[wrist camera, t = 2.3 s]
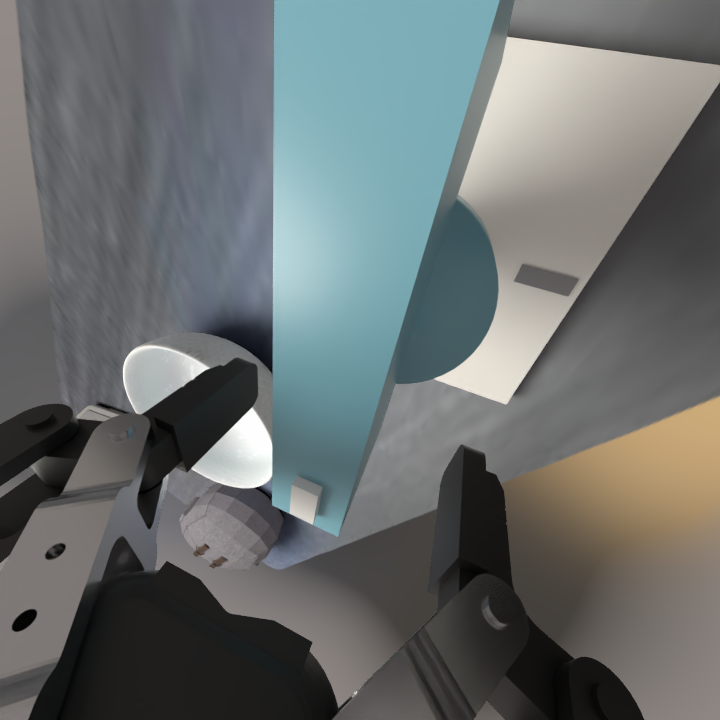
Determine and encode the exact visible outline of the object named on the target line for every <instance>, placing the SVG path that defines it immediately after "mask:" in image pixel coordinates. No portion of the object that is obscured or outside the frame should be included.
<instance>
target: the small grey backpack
mask: <svg viewBox="0 0 720 720" xmlns="http://www.w3.org/2000/svg"><path fill="white" fill-rule="evenodd" d="M179 520H180V523H181V528H182V533H183V537H184V538H185V540H186V541H187V542H188V544H189V545H190V546H191V547H192V548H193V549H194V550H195V552H194V553H193V554H194V555H195V556H196V557H198V556H199V555H201V556H202V557H203V558H204V559H205V560H207V561H209V562H211V564H210V565H209V566H210V567H212V568H215V567H216V566H217V567H221V568H227V569H232V570H246V569H248V568H251V567H254V566H257V565H258V564H259V562H260V561H262V560H263V559H265V558H266V557H267V555H268V554H269V552H270V550H271V549H272V547H273V545H274V543H275V542H276V541H277V540H278V537H279V534H280V531H281V527H282V525H283V522H284V519H283V517H282V515H281V513H280V511H279V509H278V508H277V507H275V506H273V505H272V501H271V500H270V499H269V498H268V497H267V496H266V495H265V494H264V493H262V492H260V491H259V490H257V489H255V488H237V487H232V486H228V485H224V484H221V483H219V484H216V485H213V486H212V487H211V488H210V489H209V490H208V491H207V492H206V493H204V494H203V495H202V496H201V497H195V498H194V499H193V500H192V501H191V502H190V503H189V505H188V506H187V507H186V509H185V510H184V511H183V514H182V516H181V518H180V519H179Z"/></svg>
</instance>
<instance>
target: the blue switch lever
mask: <svg viewBox="0 0 720 720" xmlns="http://www.w3.org/2000/svg"><path fill="white" fill-rule="evenodd" d="M513 5H514V0H274V202H273V412H272V505H273V506H275V507H277V508H279V509H281V510H283V511H285V512H287V513H289V514H291V515H293V516H295V517H298V518H300V519H302V520H304V521H306V522H308V523H310V524H312V525H314V526H316V527H318V528H321V529H323V530H325V531H327V532H329V533H331V534H333V535H335V536H337V537H338V536H339V533H340V531H341V528H342V526H343V523H344V520H345V518H346V515H347V513H348V510H349V508H350V505H351V503H352V500H353V498H354V495H355V492H356V490H357V487H358V485H359V482H360V480H361V477H362V475H363V472H364V469H365V467H366V464H367V462H368V459H369V457H370V454H371V452H372V449H373V446H374V444H375V441H376V439H377V436H378V434H379V431H380V429H381V426H382V423H383V420H384V417H385V414H386V411H387V407H388V404H389V401H390V398H391V395H392V392H393V389H394V386H395V383H396V384H409V383H417V382H423V381H427V380H431V379H434V378H437V377H439V376H442V375H444V374H446V373H448V372H450V371H451V370H453V369H455V368H456V367H458V366H459V365H460V364H462V363H463V362H464V361H465V360H467V359H468V358H469V357H470V356H471V355H472V354H473V353H474V352H475V350H476V349H477V348H478V347H479V345H480V344H481V343H482V341H483V339H484V338H485V336H486V334H487V333H488V331H489V328H490V326H491V324H492V321H493V319H494V315H495V311H496V307H497V301H498V292H499V286H498V272H497V267H496V262H495V257H494V252H493V248H492V243H491V240H490V237H489V234H488V231H487V229H486V227H485V225H484V223H483V221H482V219H481V218H480V217H479V215H478V214H477V212H476V211H475V210H474V208H473V207H472V206H471V205H470V204H469V203H468V202H467V201H465V200H464V199H463V198H462V197H460V196H459V195H458V193H459V190H460V187H461V184H462V181H463V178H464V175H465V172H466V169H467V166H468V163H469V160H470V157H471V154H472V151H473V148H474V145H475V142H476V139H477V136H478V133H479V129H480V126H481V123H482V120H483V117H484V114H485V111H486V108H487V105H488V102H489V99H490V96H491V93H492V90H493V87H494V84H495V81H496V78H497V75H498V72H499V69H500V66H501V63H502V59H503V54H504V49H505V44H506V39H507V34H508V29H509V24H510V19H511V14H512V9H513Z"/></svg>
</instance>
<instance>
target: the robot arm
mask: <svg viewBox="0 0 720 720" xmlns="http://www.w3.org/2000/svg"><path fill="white" fill-rule="evenodd" d="M257 397H258V368H257V365H256V364H254V363H251V362H249V361H246V360H244V359H241V358H238V357H237V358H234V359H233V360H231V361H230V362H228V363H227V364H226V365H224V366H222V365H218V366H216V367H213V368H210V369H207V370H205V371H204V372H202V373H201V374H199V375H198V376H196V377H195V378H194V380H191V381H189V382H188V383H186V384H185V385H184V387H180V388H179V389H178V390H176V391H175V392H173V393H172V394H170V395H169V396H167V397H166V398H164V399H163V400H162V401H160V402H159V403H157V404H156V405H154V406H153V407H151V408H150V409H149V410H147V411H146V412H144V413H142V414H135V413H128V414H122V415H118V416H115V417H112V418H110V419H108V420H106V421H96V420H86V419H77V418H76V416H75V414H74V412H73V410H72V409H71V408H70V407H69V406H67V405H63V404H48V405H42V406H38V407H35V408H32V409H29V410H27V411H24V412H22V413H20V414H19V415H17V416H15V417H13V418H11V419H9V420H7V421H6V422H4V423H2V424H0V486H1V485H3V484H4V483H6V482H7V481H9V480H10V479H12V478H13V477H15V476H16V475H18V474H19V473H20V472H22V471H23V470H25V469H26V468H28V467H29V466H31V468H32V469H33V470H34V471H35V474H34V475H32V476H31V477H30V478H28V479H27V480H25V481H24V482H23V483H21V484H20V485H18V486H17V487H15V488H14V489H13V490H11V491H10V492H8V493H7V494H5V495H4V496H3V497H1V498H0V563H1V562H2V561H3V560H4V559H5V558H7V557H8V556H9V555H10V556H9V557H8V559H7V561H6V563H5V565H4V566H3V568H2V570H1V572H0V720H474V718H475V717H476V715H477V714H478V712H479V711H480V709H481V708H482V706H483V705H484V704H485V702H486V701H488V702H489V703H490V704H491V705H492V706H493V707H494V709H495V710H496V711H497V712H498V713H499V714H500V715H501V716H502V717H503V718H504V719H505V720H644V718H643V716H642V713H641V711H640V709H639V707H638V706H637V703H636V702H635V700H634V699H633V697H632V695H631V694H630V692H629V691H628V689H627V688H626V687H625V685H624V684H623V683H622V682H621V680H620V679H619V678H618V677H617V676H616V675H615V674H614V673H613V672H612V671H611V670H610V669H609V668H607V667H606V666H605V665H603V664H602V663H600V662H599V661H597V660H595V659H592V658H589V657H580V658H577V659H574V658H573V657H572V656H570V655H569V654H568V653H567V652H566V651H565V650H563V649H562V648H561V647H560V646H559V645H557V644H556V643H555V642H554V641H553V640H552V639H551V638H549V637H548V636H547V635H546V634H545V633H544V632H543V631H541V630H540V629H539V628H538V627H537V626H536V625H535V624H534V623H533V622H532V620H530V618H529V617H528V615H527V614H526V611H525V608H524V606H523V604H522V602H521V600H520V599H519V597H518V596H517V594H516V593H515V591H514V588H513V584H512V577H511V566H510V555H509V543H508V532H507V525H506V521H507V520H506V511H505V498H504V491H503V489H502V486H501V484H500V482H499V480H498V478H497V476H496V475H495V474H493V473H490V472H488V471H486V459H485V454H484V453H483V452H480V451H478V450H475V449H473V448H470V447H467V446H465V445H460V447H459V448H458V450H457V451H456V453H455V455H454V456H453V458H452V460H451V461H450V463H449V465H448V466H447V468H446V470H445V472H444V474H443V477H442V481H441V485H440V492H439V500H438V509H437V518H436V526H435V534H434V542H433V550H432V559H431V567H430V576H429V584H428V591H429V592H431V593H433V594H435V595H437V596H439V597H438V609H437V612H436V613H435V614H434V615H433V616H432V617H431V618H430V619H429V620H428V621H427V622H426V623H425V624H424V625H423V626H422V627H421V628H420V629H419V630H418V631H417V632H416V633H415V634H414V635H413V636H412V637H411V638H410V639H409V640H408V641H407V642H406V643H405V644H404V645H403V646H402V647H401V648H400V649H399V650H397V652H396V653H394V654H393V655H392V656H391V657H390V658H389V659H388V660H387V661H386V662H385V663H384V664H383V665H382V666H381V667H380V668H379V669H378V670H377V671H376V672H375V673H374V674H373V675H372V676H371V677H370V678H368V679H367V681H365V682H364V684H363V685H361V686H360V687H359V688H358V689H357V690H356V691H355V692H354V693H353V694H352V695H351V696H350V697H349V698H348V699H347V700H346V701H345V702H344V703H343V704H342V705H341V706H340V707H339V708H338V705H337V701H336V698H335V695H334V692H333V689H332V686H331V684H330V682H329V680H328V678H327V676H326V674H325V672H324V670H323V669H322V667H321V665H320V664H319V662H318V661H317V660H316V658H315V657H314V656H313V655H312V654H311V652H310V651H309V650H310V647H311V645H312V642H311V641H309V640H308V639H306V638H304V637H302V636H301V635H299V634H297V633H295V632H293V631H292V630H290V629H288V628H286V627H284V626H283V625H281V624H279V623H277V622H275V621H273V620H267V619H260V618H254V617H247V616H241V615H234V614H230V613H228V612H227V611H225V609H224V608H223V607H222V606H221V605H220V604H219V602H218V601H217V600H216V598H214V596H213V595H212V594H211V592H210V591H209V590H208V589H207V588H206V586H205V585H204V584H203V583H202V581H201V580H200V579H198V578H196V577H195V576H193V575H191V574H189V573H187V572H186V571H184V570H182V569H180V568H178V567H177V566H175V565H173V564H171V563H169V562H168V561H166V563H165V564H164V565H163V566H162V568H161V569H160V570H155V566H156V558H157V544H156V534H157V529H158V524H159V520H160V515H161V510H162V506H163V501H164V497H165V492H166V487H167V483H168V474H169V473H170V472H171V471H172V470H173V469H174V468H175V467H176V468H178V469H180V470H182V471H184V472H186V473H187V472H188V471H189V470H190V469H191V468H192V467H193V466H194V465H195V464H196V463H197V462H198V461H199V460H200V459H201V458H202V457H203V456H204V455H205V454H206V453H207V452H208V451H209V450H210V449H211V448H212V447H213V446H214V445H215V444H216V443H217V442H218V441H219V440H220V439H221V438H222V437H223V436H224V435H225V434H226V433H227V432H228V431H229V430H230V429H231V428H232V427H233V426H234V425H235V424H236V423H237V422H238V421H239V420H240V419H241V418H242V417H243V416H244V415H245V414H246V413H247V412H248V411H249V410H250V409H251V408H252V407H253V405H254V404H255V402H256V400H257Z"/></svg>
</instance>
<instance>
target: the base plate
mask: <svg viewBox="0 0 720 720" xmlns="http://www.w3.org/2000/svg"><path fill="white" fill-rule="evenodd" d="M719 83H720V65H714V64H707V63H699V62H692V61H684V60H677V59H669V58H662V57H654V56H647V55H639V54H632V53H624V52H617V51H609V50H602V49H594V48H587V47H579V46H572V45H564V44H557V43H549V42H542V41H534V40H527V39H519V38H512V37H507V39H506V44H505V49H504V54H503V59H502V63H501V66H500V69H499V72H498V75H497V78H496V81H495V84H494V87H493V90H492V93H491V96H490V99H489V102H488V105H487V108H486V111H485V114H484V117H483V120H482V123H481V126H480V129H479V133H478V136H477V139H476V142H475V145H474V148H473V151H472V154H471V157H470V160H469V163H468V166H467V169H466V172H465V175H464V178H463V181H462V184H461V187H460V190H459V193H458V195H459V196H460V197H462V198H463V199H464V200H465V201H467V202H468V203H469V204H470V205H471V206H472V207H473V208H474V210H475V211H476V212H477V214H478V215H479V217H480V218H481V219H482V221H483V223H484V225H485V227H486V229H487V231H488V234H489V237H490V240H491V243H492V248H493V252H494V257H495V262H496V267H497V272H498V286H499V292H498V301H497V307H496V311H495V315H494V319H493V321H492V324H491V326H490V328H489V331H488V333H487V334H486V336H485V338H484V339H483V341H482V343H481V344H480V345H479V347H478V348H477V349H476V350H475V352H474V353H473V354H472V355H471V356H470V357H469V358H468V359H467V360H465V361H464V362H463V363H462V364H460V365H459V366H458V367H456V368H455V369H453V370H451V371H450V372H448V373H446V374H444V375H442V376H439V377H437V378H434V379H435V380H438V381H441V382H444V383H446V384H449V385H452V386H455V387H458V388H461V389H464V390H466V391H469V392H472V393H475V394H478V395H481V396H483V397H486V398H489V399H492V400H495V401H498V402H500V403H503V404H507V403H508V401H509V400H510V398H511V397H512V395H513V394H514V392H515V391H516V389H517V388H518V386H519V385H520V383H521V382H522V380H523V379H524V377H525V375H526V374H527V372H528V371H529V369H530V368H531V366H532V365H533V363H534V362H535V360H536V359H537V357H538V356H539V354H540V353H541V351H542V350H543V348H544V347H545V345H546V344H547V342H548V341H549V339H550V338H551V336H552V335H553V333H554V332H555V330H556V329H557V327H558V326H559V324H560V323H561V321H562V320H563V318H564V317H565V315H566V314H567V312H568V311H569V309H570V308H571V306H572V305H573V303H574V302H575V300H576V298H577V297H578V295H579V294H580V292H581V291H582V289H583V288H584V286H585V285H586V283H587V282H588V280H589V279H590V277H591V276H592V274H593V273H594V271H595V270H596V268H597V267H598V265H599V264H600V262H601V261H602V259H603V258H604V256H605V255H606V253H607V252H608V250H609V249H610V247H611V246H612V244H613V243H614V241H615V240H616V238H617V237H618V235H619V234H620V232H621V231H622V229H623V228H624V226H625V225H626V223H627V221H628V220H629V218H630V217H631V215H632V214H633V212H634V211H635V209H636V208H637V206H638V205H639V203H640V202H641V200H642V199H643V197H644V196H645V194H646V193H647V191H648V190H649V188H650V187H651V185H652V184H653V182H654V181H655V179H656V178H657V176H658V175H659V173H660V172H661V170H662V169H663V167H664V166H665V164H666V163H667V161H668V160H669V158H670V157H671V155H672V154H673V152H674V151H675V149H676V148H677V146H678V144H679V143H680V141H681V140H682V138H683V137H684V135H685V134H686V132H687V131H688V129H689V128H690V126H691V125H692V123H693V122H694V120H695V119H696V117H697V116H698V114H699V113H700V111H701V110H702V108H703V107H704V105H705V104H706V102H707V101H708V99H709V98H710V96H711V95H712V93H713V92H714V90H715V89H716V87H717V86H718V84H719Z"/></svg>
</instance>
